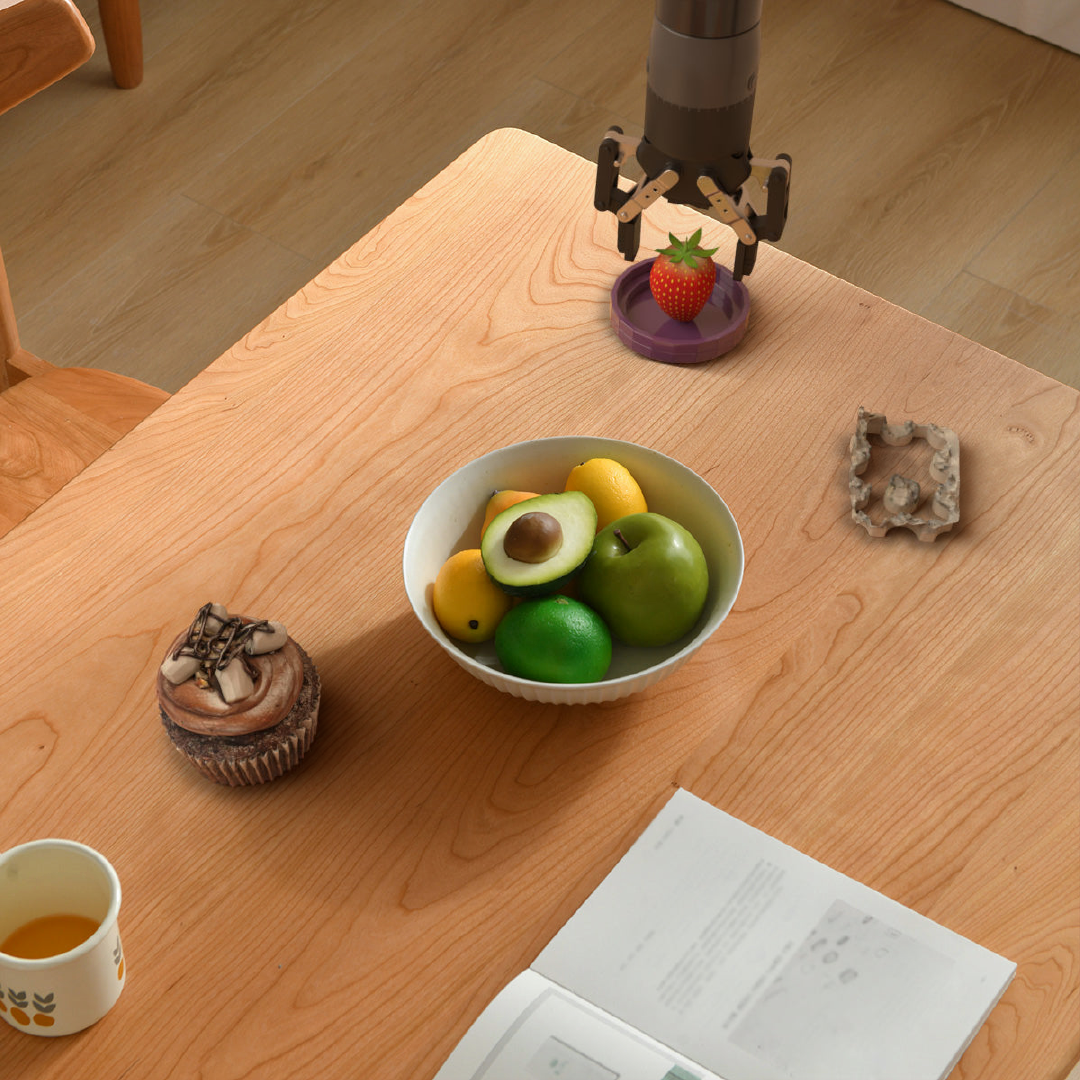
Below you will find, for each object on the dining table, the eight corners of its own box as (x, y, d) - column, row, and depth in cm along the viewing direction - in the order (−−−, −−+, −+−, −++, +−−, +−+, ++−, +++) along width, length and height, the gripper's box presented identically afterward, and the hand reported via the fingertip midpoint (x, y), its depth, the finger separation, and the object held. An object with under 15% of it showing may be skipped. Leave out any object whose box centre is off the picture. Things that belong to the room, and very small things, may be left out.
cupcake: (152, 795, 82) (111, 702, 74) (205, 665, 88) (172, 567, 80) (306, 819, 80) (280, 727, 73) (348, 685, 87) (329, 587, 79)
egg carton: (846, 439, 101) (856, 399, 98) (949, 453, 100) (962, 412, 97) (839, 546, 94) (849, 506, 91) (950, 561, 93) (964, 522, 90)
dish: (758, 293, 112) (762, 268, 110) (730, 381, 105) (734, 355, 103) (629, 269, 114) (630, 244, 112) (593, 353, 107) (594, 328, 105)
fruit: (712, 341, 107) (722, 260, 101) (646, 339, 107) (652, 257, 101) (710, 297, 110) (720, 216, 104) (647, 295, 111) (653, 214, 105)
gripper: (815, 62, 94) (784, 252, 106) (616, 32, 96) (609, 221, 109) (795, 120, 89) (766, 312, 101) (587, 86, 92) (583, 277, 104)
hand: (684, 265), depth 105 cm, fingers open, 8 cm apart
